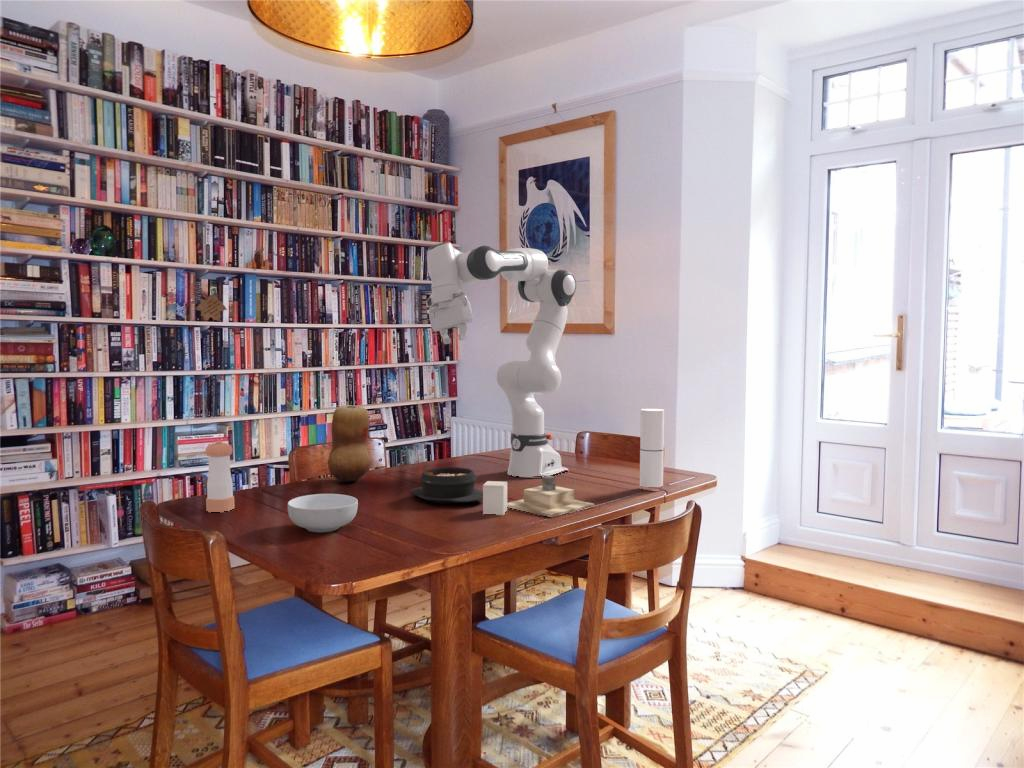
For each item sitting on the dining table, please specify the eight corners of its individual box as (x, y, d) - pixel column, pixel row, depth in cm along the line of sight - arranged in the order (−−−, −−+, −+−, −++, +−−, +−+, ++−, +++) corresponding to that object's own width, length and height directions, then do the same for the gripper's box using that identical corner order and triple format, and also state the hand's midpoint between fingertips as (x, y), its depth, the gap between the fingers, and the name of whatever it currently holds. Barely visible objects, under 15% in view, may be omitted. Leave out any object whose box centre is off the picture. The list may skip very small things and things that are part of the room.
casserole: (395, 499, 219) (395, 471, 218) (440, 489, 233) (439, 462, 232) (457, 512, 203) (457, 481, 202) (501, 500, 217) (501, 472, 217)
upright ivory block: (487, 509, 206) (487, 480, 205) (507, 510, 205) (507, 481, 204) (483, 514, 200) (483, 485, 200) (503, 515, 199) (503, 485, 199)
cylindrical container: (637, 490, 231) (638, 410, 230) (642, 486, 238) (643, 408, 236) (660, 492, 229) (661, 411, 227) (664, 487, 235) (666, 409, 234)
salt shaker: (221, 513, 200) (220, 443, 199) (200, 511, 203) (198, 441, 201) (240, 507, 207) (238, 439, 206) (219, 505, 209) (217, 438, 208)
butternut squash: (361, 486, 236) (360, 408, 234) (321, 484, 238) (320, 407, 237) (376, 478, 250) (375, 404, 248) (338, 476, 252) (338, 403, 250)
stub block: (546, 497, 221) (547, 468, 221) (594, 507, 209) (594, 477, 208) (503, 507, 209) (503, 477, 208) (551, 518, 196) (551, 486, 195)
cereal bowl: (292, 540, 175) (292, 511, 174) (284, 524, 190) (283, 496, 189) (364, 533, 181) (364, 504, 181) (350, 517, 197) (350, 491, 196)
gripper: (473, 289, 217) (481, 336, 218) (441, 301, 234) (448, 344, 235) (455, 291, 214) (463, 338, 214) (423, 303, 231) (430, 347, 231)
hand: (455, 341), depth 225 cm, fingers open, 8 cm apart
